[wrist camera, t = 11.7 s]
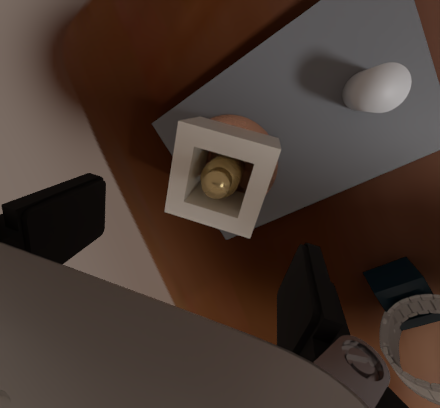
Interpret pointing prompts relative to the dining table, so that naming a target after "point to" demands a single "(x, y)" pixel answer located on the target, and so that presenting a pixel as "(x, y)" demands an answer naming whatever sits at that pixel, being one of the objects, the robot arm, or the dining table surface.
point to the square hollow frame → (195, 162)
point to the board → (330, 99)
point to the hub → (229, 165)
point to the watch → (404, 314)
